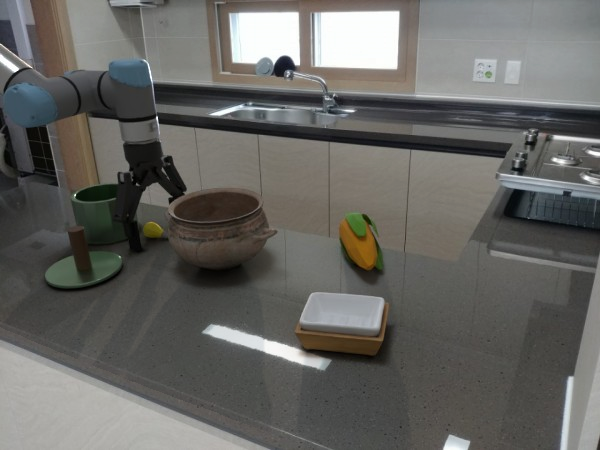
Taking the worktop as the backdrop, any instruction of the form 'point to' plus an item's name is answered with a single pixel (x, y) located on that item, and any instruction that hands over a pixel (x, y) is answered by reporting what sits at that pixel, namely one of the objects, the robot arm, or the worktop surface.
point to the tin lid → (82, 264)
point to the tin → (98, 213)
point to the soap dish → (343, 323)
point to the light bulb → (154, 231)
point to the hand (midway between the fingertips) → (158, 237)
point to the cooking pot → (218, 227)
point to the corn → (360, 241)
